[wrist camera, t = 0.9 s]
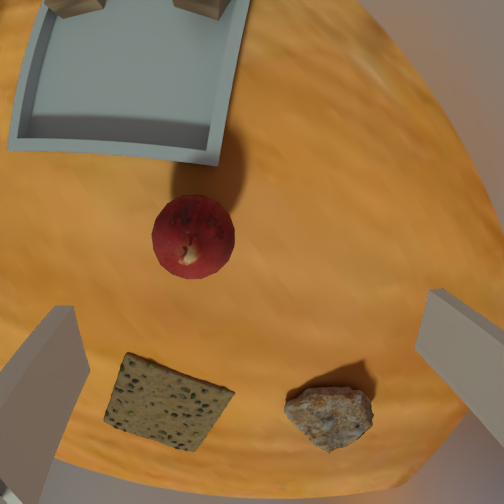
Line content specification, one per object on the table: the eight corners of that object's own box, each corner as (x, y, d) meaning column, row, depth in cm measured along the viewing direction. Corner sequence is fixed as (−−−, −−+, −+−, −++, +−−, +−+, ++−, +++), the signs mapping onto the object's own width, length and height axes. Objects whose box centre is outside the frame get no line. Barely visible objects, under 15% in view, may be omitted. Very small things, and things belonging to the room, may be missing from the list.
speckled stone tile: (196, 450, 34) (196, 456, 33) (103, 419, 31) (101, 424, 30) (237, 389, 32) (238, 395, 31) (126, 348, 29) (124, 353, 28)
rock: (377, 395, 34) (341, 367, 30) (390, 436, 29) (354, 418, 25) (319, 423, 37) (272, 400, 33) (325, 462, 32) (277, 448, 28)
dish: (22, 149, 22) (7, 150, 19) (68, -26, 17) (58, -36, 15) (217, 165, 25) (218, 166, 22) (255, -25, 20) (259, -39, 17)
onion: (159, 191, 25) (135, 206, 17) (231, 188, 25) (238, 202, 18) (163, 261, 26) (145, 302, 19) (232, 258, 27) (239, 300, 19)
